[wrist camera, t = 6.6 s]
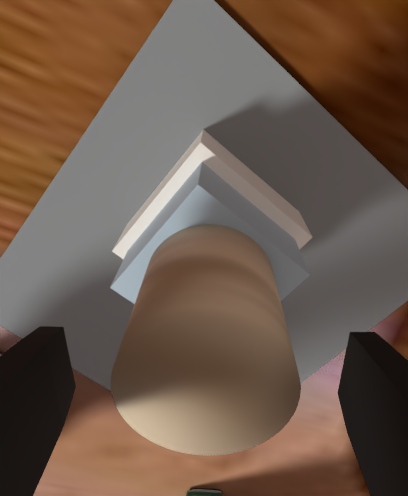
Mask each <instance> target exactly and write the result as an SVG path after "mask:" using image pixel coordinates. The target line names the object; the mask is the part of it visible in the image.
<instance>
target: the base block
mask: <svg viewBox="0 0 408 496" xmlns="http://www.w3.org/2000/svg"><path fill="white" fill-rule="evenodd" d="M201 162H203V163H204V164H205V165H207V166H208V167H209V168H210V169H211V170H213V171H214V172H215V173H216V174H217V175H219V176H220V177H221V178H222V179H223V180H225V181H226V182H227V183H228V184H229V185H231V186H232V187H233V188H234V189H235V190H237V191H238V192H239V193H240V194H241V195H243V196H244V197H245V198H246V199H247V200H249V201H250V202H251V203H252V204H253V205H255V206H256V207H257V208H258V209H260V210H261V211H262V212H263V213H264V214H266V215H267V216H268V217H269V218H270V219H272V220H273V221H274V222H275V223H276V224H278V225H279V226H280V227H281V228H282V229H284V230H285V231H286V232H287V233H288V234H290V235H291V236H292V237H293V238H294V239H295V240H296V243H297V245H298V248H299V250H300V249H301V248H302V247H303V246H304V245H305V244H306V243H307V242H308V241H309V240H310V239H311V238H312V235H311V233H310V231H309V229H308V228H307V226H306V224H305V222H304V220H303V218H302V216H301V214H300V212H299V211H298V210H297V209H296V208H294V207H293V206H292V205H291V204H290V203H289V202H287V201H286V200H285V199H284V198H283V197H282V196H280V195H279V194H278V193H277V192H276V191H275V190H273V189H272V188H271V187H270V186H269V185H268V184H267V183H265V182H264V181H263V180H262V179H261V178H260V177H258V176H257V175H256V174H255V173H254V172H253V171H251V170H250V169H249V168H248V167H247V166H246V165H244V164H243V163H242V162H241V161H240V160H239V159H237V158H236V157H235V156H234V155H233V154H232V153H230V152H229V151H228V150H227V149H226V148H225V147H223V146H222V145H221V144H220V143H219V142H218V141H217V140H215V139H214V138H213V137H212V136H211V135H210V134H208V133H207V132H206V131H205V130H204V129H203V130H202V132H201V133H200V134H199V135H198V137H197V138H196V139H195V140H194V142H193V143H192V144H191V145H190V147H189V148H188V149H187V150H186V152H185V153H184V154H183V155H182V156H181V158H180V159H179V160H178V161H177V163H176V164H175V165H174V166H173V168H172V169H171V170H170V171H169V173H168V174H167V175H166V176H165V178H164V179H163V180H162V181H161V183H160V184H159V185H158V186H157V188H156V189H155V190H154V191H153V193H152V194H151V195H150V196H149V198H148V199H147V200H146V201H145V203H144V204H143V205H142V206H141V207H140V209H139V210H138V211H137V212H136V214H135V215H134V216H133V217H132V219H131V220H130V221H129V222H128V224H127V225H126V227H125V229H124V230H123V232H122V234H121V236H120V238H119V239H118V241H117V243H116V245H115V247H114V248H113V250H112V252H113V253H115V254H116V255H118V256H119V257H121V258H122V259H124V257H125V255H126V253H127V251H128V250H129V248H130V247H131V246H132V245H133V244H134V242H135V241H136V240H137V239H138V238H139V236H140V235H141V234H142V233H143V232H144V230H145V229H146V228H147V227H148V226H149V224H150V223H151V222H152V221H153V220H154V218H155V217H156V216H157V215H158V214H159V212H160V211H161V210H162V209H163V208H164V206H165V205H166V204H167V203H168V202H169V200H170V199H171V198H172V197H173V196H174V194H175V193H176V192H177V191H178V190H179V188H180V187H181V186H182V185H183V184H184V182H185V181H186V180H187V179H188V178H189V176H190V175H191V174H192V173H193V172H194V170H195V169H196V168H197V167H198V166H199V164H200V163H201Z"/></svg>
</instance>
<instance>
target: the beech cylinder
mask: <svg viewBox="0 0 408 496" xmlns="http://www.w3.org/2000/svg"><path fill="white" fill-rule="evenodd" d="M300 391H301V385H300V377H299V373H298V369H297V365H296V361H295V357H294V353H293V349H292V345H291V341H290V337H289V333H288V329H287V325H286V321H285V317H284V313H283V309H282V305H281V301H280V297H279V293H278V289H277V285H276V281H275V277H274V273H273V270H272V266H271V263H270V261H269V258H268V256H267V255H266V253H265V251H264V250H263V249H262V248H261V247H260V245H259V244H258V243H257V242H255V241H254V240H253V239H252V238H250V237H249V236H248V235H246V234H244V233H242V232H240V231H238V230H236V229H233V228H230V227H226V226H222V225H213V224H208V225H197V226H192V227H188V228H185V229H182V230H180V231H178V232H176V233H174V234H172V235H171V236H169V237H168V238H167V239H165V240H164V241H163V242H162V243H161V244H160V245H159V246H158V247H157V249H156V250H155V251H154V253H153V255H152V257H151V259H150V261H149V264H148V267H147V270H146V273H145V275H144V278H143V281H142V284H141V287H140V290H139V293H138V296H137V299H136V302H135V304H134V307H133V310H132V313H131V316H130V319H129V322H128V325H127V328H126V331H125V334H124V336H123V339H122V342H121V345H120V348H119V351H118V354H117V357H116V360H115V363H114V365H113V368H112V373H111V392H112V397H113V400H114V402H115V405H116V407H117V409H118V411H119V413H120V414H121V416H122V417H123V418H124V420H125V421H126V422H127V423H128V424H129V425H130V426H131V427H132V428H133V429H134V430H135V431H137V432H138V433H139V434H140V435H142V436H143V437H145V438H146V439H148V440H150V441H152V442H154V443H156V444H158V445H160V446H162V447H165V448H167V449H170V450H174V451H177V452H182V453H187V454H194V455H225V454H231V453H236V452H240V451H244V450H247V449H250V448H252V447H255V446H257V445H259V444H261V443H263V442H265V441H267V440H268V439H270V438H271V437H273V436H274V435H275V434H277V433H278V432H279V431H280V430H281V429H282V428H283V427H284V426H285V425H286V424H287V423H288V422H289V420H290V419H291V417H292V416H293V414H294V412H295V410H296V408H297V405H298V402H299V398H300Z"/></svg>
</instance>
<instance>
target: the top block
mask: <svg viewBox="0 0 408 496" xmlns="http://www.w3.org/2000/svg"><path fill="white" fill-rule="evenodd" d="M208 224H213V225H222V226H226V227H230V228H233V229H236V230H238V231H240V232H242V233H244V234H246V235H248V236H249V237H250V238H252V239H253V240H254V241H255V242H257V243H258V244H259V245H260V247H261V248H262V249H263V250H264V251H265V253H266V255H267V256H268V258H269V261H270V263H271V266H272V270H273V273H274V277H275V281H276V285H277V289H278V293H279V297H280V301H282V300H283V299H284V298H285V297H286V296H287V295H288V294H289V293H291V292H292V291H293V290H294V289H295V288H296V287H297V286H298V285H299V284H301V283H302V282H303V281H304V280H305V279H306V278H307V277H308V276H310V274H309V271H308V269H307V267H306V264H305V262H304V260H303V257H302V255H301V252H300V250H299V248H298V245H297V243H296V240H295V239H294V238H293V237H292V236H291V235H290V234H288V233H287V232H286V231H285V230H284V229H282V228H281V227H280V226H279V225H278V224H276V223H275V222H274V221H273V220H272V219H270V218H269V217H268V216H267V215H266V214H264V213H263V212H262V211H261V210H260V209H258V208H257V207H256V206H255V205H253V204H252V203H251V202H250V201H249V200H247V199H246V198H245V197H244V196H243V195H241V194H240V193H239V192H238V191H237V190H235V189H234V188H233V187H232V186H231V185H229V184H228V183H227V182H226V181H225V180H223V179H222V178H221V177H220V176H219V175H217V174H216V173H215V172H214V171H213V170H211V169H210V168H209V167H208V166H207V165H205V164H204V163H203V162H201V163H200V164H199V166H198V167H197V168H196V169H195V170H194V172H193V173H192V174H191V175H190V176H189V178H188V179H187V180H186V181H185V182H184V184H183V185H182V186H181V187H180V188H179V190H178V191H177V192H176V193H175V194H174V196H173V197H172V198H171V199H170V200H169V202H168V203H167V204H166V205H165V206H164V208H163V209H162V210H161V211H160V212H159V214H158V215H157V216H156V217H155V218H154V220H153V221H152V222H151V223H150V224H149V226H148V227H147V228H146V229H145V230H144V232H143V233H142V234H141V235H140V236H139V238H138V239H137V240H136V241H135V242H134V244H133V245H132V246H131V247H130V248H129V250H128V251H127V253H126V255H125V257H124V259H123V262H122V264H121V266H120V268H119V270H118V272H117V274H116V276H115V278H114V280H113V283H112V285H111V287H110V288H111V289H113V290H114V291H116V292H117V293H119V294H120V295H122V296H123V297H125V298H126V299H128V300H129V301H131V302H132V303H133V304H135V302H136V299H137V296H138V293H139V290H140V287H141V284H142V281H143V278H144V275H145V273H146V270H147V267H148V264H149V261H150V259H151V257H152V255H153V253H154V251H155V250H156V249H157V247H158V246H159V245H160V244H161V243H162V242H163V241H164V240H165V239H167V238H168V237H169V236H171V235H172V234H174V233H176V232H178V231H180V230H182V229H185V228H188V227H192V226H197V225H208Z"/></svg>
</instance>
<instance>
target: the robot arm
mask: <svg viewBox="0 0 408 496" xmlns="http://www.w3.org/2000/svg"><path fill="white" fill-rule="evenodd" d="M75 387H76V386H75V381H74V377H73V372H72V367H71V362H70V357H69V352H68V347H67V342H66V337H65V332H64V327H51V326H40V327H38V328H37V329H35V330H34V331H33V332H31V333H30V334H28V335H27V336H26V337H24V338H23V339H22V340H21V341H19V342H18V343H17V344H15V345H14V346H13V347H11V348H10V349H9V350H8V351H6V352H5V353H4V354H2V355H1V354H0V496H33V494H34V492H35V490H36V487H37V485H38V483H39V481H40V478H41V476H42V474H43V472H44V470H45V467H46V465H47V463H48V461H49V458H50V456H51V454H52V452H53V449H54V447H55V445H56V442H57V440H58V438H59V436H60V433H61V431H62V428H63V426H64V423H65V420H66V417H67V414H68V411H69V408H70V404H71V401H72V397H73V394H74V390H75ZM338 396H339V400H340V404H341V409H342V413H343V417H344V421H345V425H346V429H347V433H348V436H349V438H350V441H351V444H352V447H353V449H354V452H355V455H356V458H357V460H358V463H359V466H360V468H361V471H362V474H363V476H364V479H365V482H366V484H367V487H368V490H369V492H370V495H371V496H408V360H406V359H405V358H404V357H403V356H402V355H401V354H400V353H399V352H397V351H396V350H395V349H394V348H393V347H392V346H391V345H389V344H388V343H387V342H386V341H385V340H384V339H383V338H381V337H380V336H379V335H378V334H376V333H375V332H350V334H349V339H348V344H347V349H346V354H345V359H344V364H343V369H342V374H341V379H340V384H339V389H338Z"/></svg>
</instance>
